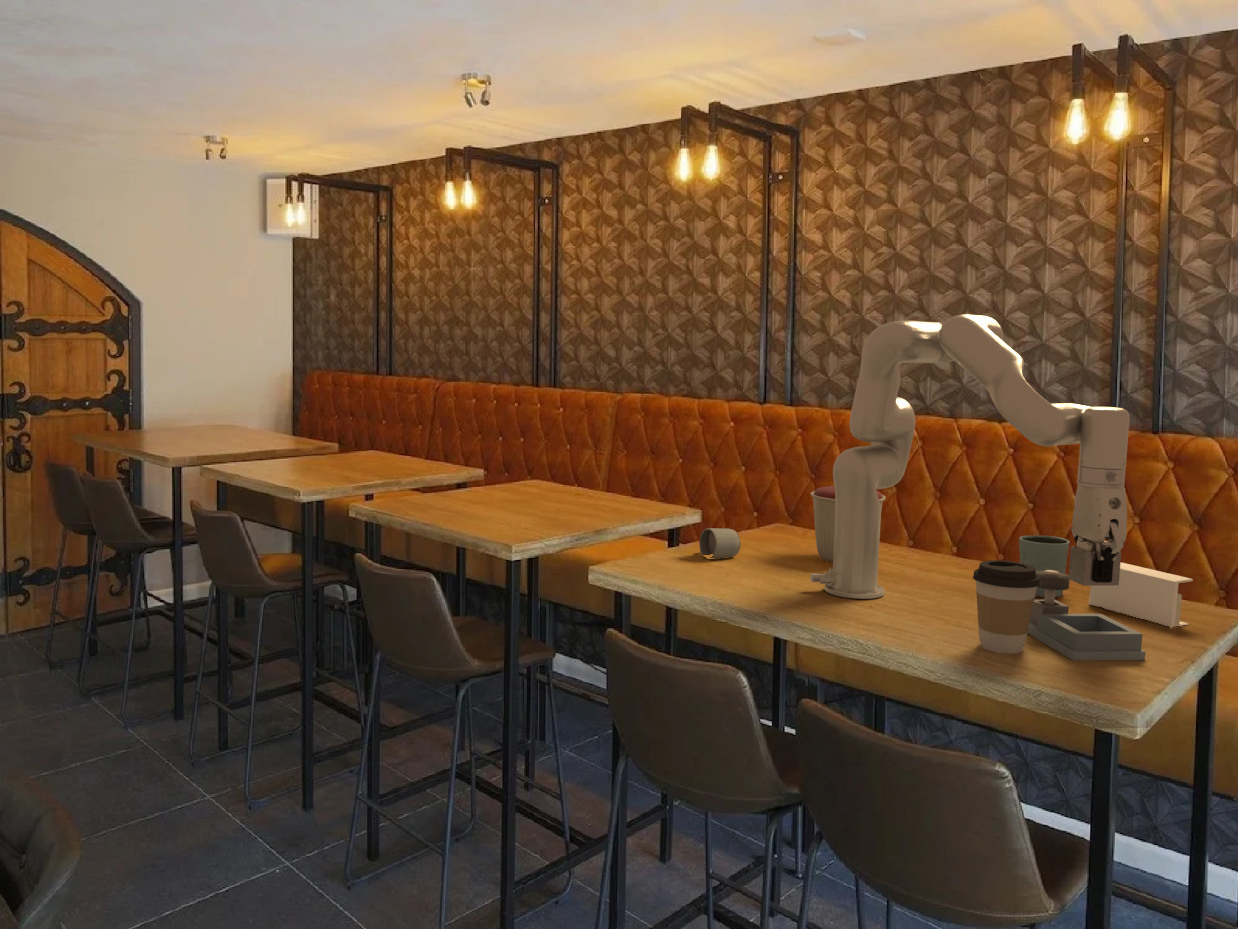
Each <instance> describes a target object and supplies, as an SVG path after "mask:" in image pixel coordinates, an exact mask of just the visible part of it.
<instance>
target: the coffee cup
mask: <svg viewBox="0 0 1238 929" xmlns="http://www.w3.org/2000/svg"><path fill="white" fill-rule="evenodd" d="M972 579H973V580H974V581H975V590H976V592H975V593H976V609H977V621H978V622H977V623H978V625H977V626H978V636H979V638H978V639H979V643H980V647H981V648H982V649H983V650H986V651H988V652H992V653H995V654H1001V655H1003V654H1004V655H1016V654H1021V653H1023V650H1024V647H1025V645H1026V641H1027V636H1028V633H1027V631H1028V627H1029V622H1030V617H1031V612H1032V608H1033V603H1034V600H1035V598H1036V596H1035V594H1036V589H1037V586H1039V585H1040V584H1041V583H1040V577H1039V576H1038V575H1036V570H1035V568H1034V567H1033V566H1030V565H1028V564H1024V563H1020V561H1019V562H1018V561H1013V560H998V559H997V560H994V559H993V560H983V561H981V562H980V563H979V565H978V568H976V569H975V570H974V571H973V575H972Z"/></svg>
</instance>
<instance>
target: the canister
mask: <svg viewBox="0 0 1238 929" xmlns="http://www.w3.org/2000/svg"><path fill="white" fill-rule="evenodd" d="M876 491H877V495H878V499H879V503H880V508H881V510H882V509H883V508H882V507H883V502H884V501H886V495H884V494H882V493H881V492H880V491H878V490H876ZM810 497H812V502H813V517H814V518H813V520H814V532H815V535H814V536H815V543H816V550H817V551H816V552H817V553H818V556H819V557H820V558H821V559H822V560H824V561H826V562H829V563H833V555H834V535H835V509H836V497H835V486H834V485H828V486H822V487H818V488H816V489H815V490H814V491H812V492H810Z"/></svg>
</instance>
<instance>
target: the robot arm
mask: <svg viewBox="0 0 1238 929" xmlns="http://www.w3.org/2000/svg"><path fill="white" fill-rule="evenodd" d="M1004 335H1005V334H1004V331H1003V329H1002V326H1001V325H1000V324H999V322H998V321H997V320H995V319H994V318H992V317H989V316H987V315H982V314H981V315H978V314H969V313H968V314H957V315H954V316H952V317H950V318H948V319H947V320H945V321H921V320H920V321H918V320H896V321H895V320H894V321H890V322H887V323H884V324H882V325H879V326H878V327H876V328H875V329H874V330H873V331H871V333H870V334H869V335H868V336H867V338H866V339H865V342H864V344H863V348H862V351H861V359H860V367H859V373H858V378H857V383H856V388H855V390H854V391H855V393H854V398H853V402H852V407H851V411H850V416H849V431H850V433H851V434H852V436H853V437H854V438H855V439H857V440H858V441H861V442H867V443H870V445H863V446H855V447H851V448H848V449H845V450H844V451H842V452H841V453H840V454H838V455H837V457H836V458H835V461H834V463H833V466H832V478H833V486H835V497H836V509H835V535H834V555H833V562H832V568H828V571H825V572H824V573H810V576H809V579H810V583H818V584H820V585H821V584H822V585H824V591H825V592H826V593H828V594H829V595H833V596H836V597H841V598H845V599H846V598H847V599H857V600H858V599H859V600H861V599H862V600H870V599H871V600H872V599H878V598H881V597H883V596H884V595H885V588H884V587H883V586H881V585H880V584H878V577H879V576H878V574H879V557H880V537H881V521H882V520H881V519H882V518H881V516H882V509H881V508H880V503H879V499H878V495H877V491H878V490H882V489H888V488H892V487H894V486H895V485H897V484H898V483H899V482H901V480H902V478H903V477H904V475H905V472H906V469H907V465H908V461H909V457H910V453H911V448H912V444H913V439H914V434H915V429H916V414H915V411H914V408H913V407H912V405H911V404H910V403H909V402H908V401H907V400H906V399H904V398H902V397H899V396H898V393H899V389H900V384H901V372H900V368H899V365H901V364H903V363H904V364H905V363H908V364H910V363H911V364H936V363H937V364H939V363H949V362H956V364H958V365H959V366H960V367H961V368H963V370H965V371H966V372H967V373H968V374H969V375H971V376H972V377H973V378H974V379H975V380H976V381H977V382H978V383H979V384H980V385H981V386H982V387H984V388H985V389H986V391H987V392H988V393H989V395H990V398H991V400H992V402H993V404H994V406H995V407H996V409H997V411H998V412H999V414H1000V415H1001V416H1002V417H1003V418H1004V419H1005V421H1007V422H1008V423H1009V425H1011V426H1012V427H1013V428H1014V429H1015V430H1017V431H1018V432H1019V434H1021V435H1022V436H1024V438H1026V439H1027V440H1028V441H1029V442H1030V441H1031V442H1032V443H1034V444H1035V445H1038V446H1041V447H1054V446H1065V445H1067V446H1068V445H1077V444H1079V455H1078V456H1079V457H1078V466H1077V467H1078V468H1077V480H1076V484H1077V488H1076V491H1075V492H1076V493H1075V498H1074V505H1073V510H1072V511H1073V514H1072V527H1071V529H1070V530H1071V531H1070V532H1071V533H1072V536H1073V537H1074V539H1073V540H1074V542H1075V546H1077V541H1093V542H1096V549H1097V559H1095V561H1094V574H1093V581H1094V582H1097V583H1109V582H1112V574H1113V562H1114V561H1115V559H1116V555H1117V554H1118V552H1119V551H1120V552H1121V551H1122V549H1123V548H1124V547H1125V546H1124V543H1125V542H1126V539H1127V527H1128V509H1127V508H1128V506H1127V505H1128V504H1127V502H1128V501H1127V493H1126V488H1125V482H1126V481H1125V480H1126V467H1127V457H1128V456H1127V454H1128V444H1129V432H1130V430H1129V429H1130V413H1129V411H1128V410H1127V409H1124V408H1122V407H1113V406H1089V405H1082V404H1078V403H1074V402H1073V403H1071V402H1067V403H1066V402H1065V403H1061V402H1060V403H1050V402H1049V401H1048V400H1047V399H1045V398H1044V397H1043V396H1042V395H1041V394H1039V393H1038V392H1037V391H1036V390H1035V389H1034V388H1033V387H1032V386H1031V385H1030V384H1029V383H1028V382H1027V380H1026V378H1025V377H1024V375H1023V374H1024V373H1023V371H1024V370H1023V369H1024V366H1025V360H1024V359H1023V357H1022V356H1021V355H1020V354H1019V353H1018V352H1016V351H1015V350H1014V349H1012V348H1011V347H1010V346H1009V345H1008V344H1007V343H1006V342H1004V340H1005V339H1004ZM1106 540H1108V541H1107V542H1104V541H1106ZM1103 546H1108V547H1107V548H1106V549H1105V550H1104V551H1103Z"/></svg>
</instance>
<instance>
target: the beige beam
mask: <svg viewBox="0 0 1238 929" xmlns="http://www.w3.org/2000/svg"><path fill="white" fill-rule="evenodd" d="M1193 580H1194V579H1193V578H1189V577H1186V576H1182V575H1177V574H1173V573H1169V572H1168V573H1167V572H1164V571H1160V570H1155V569H1152V568H1148V567H1147V568H1146V567H1143V566H1139V565H1133V564H1129V563H1125V562H1121V563H1120V575H1119V586H1089V594H1088V596H1089V598H1088V605H1089V606H1094V607H1097V608H1100V607H1102V608H1101V609H1103V608H1104V610H1108V611H1110V612H1113V613H1118V614H1121V613H1124V614H1128V615H1130V616H1129V617H1131V616H1133V617H1132V618H1135V617H1136V618H1135V619H1138V618H1140V619H1139V620H1142V619H1145V620H1149V621H1152V622H1156V623H1159V624H1162V625H1161V626H1163V625H1165V626H1164V627H1166V626H1169V627H1174V626H1181V627H1183V626H1182V625H1187V626H1189V625H1188V624H1189V623H1187V622H1185V621H1181V613H1182V611H1181V610H1182V600H1183V599H1182V598H1183V594H1182V593H1178V592H1179V584H1181V583H1189V582H1193ZM1124 614H1123V615H1124ZM1128 615H1127V616H1128ZM1145 620H1144V621H1145ZM1149 621H1148V622H1149ZM1152 622H1151V623H1152ZM1156 623H1155V624H1156ZM1159 624H1158V625H1159ZM1169 627H1168V628H1169Z"/></svg>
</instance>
